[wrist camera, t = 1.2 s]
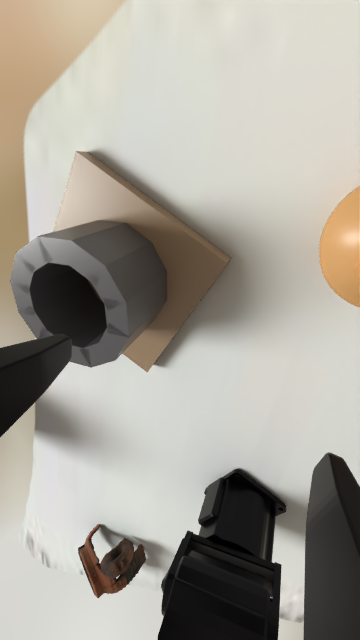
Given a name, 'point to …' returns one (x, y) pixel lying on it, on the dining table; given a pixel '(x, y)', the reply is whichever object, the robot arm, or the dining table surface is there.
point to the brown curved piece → (111, 565)
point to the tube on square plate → (112, 270)
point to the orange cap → (343, 249)
